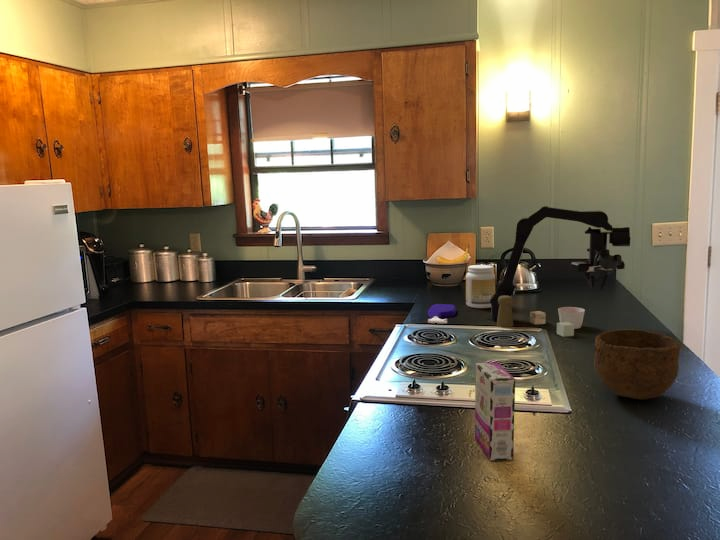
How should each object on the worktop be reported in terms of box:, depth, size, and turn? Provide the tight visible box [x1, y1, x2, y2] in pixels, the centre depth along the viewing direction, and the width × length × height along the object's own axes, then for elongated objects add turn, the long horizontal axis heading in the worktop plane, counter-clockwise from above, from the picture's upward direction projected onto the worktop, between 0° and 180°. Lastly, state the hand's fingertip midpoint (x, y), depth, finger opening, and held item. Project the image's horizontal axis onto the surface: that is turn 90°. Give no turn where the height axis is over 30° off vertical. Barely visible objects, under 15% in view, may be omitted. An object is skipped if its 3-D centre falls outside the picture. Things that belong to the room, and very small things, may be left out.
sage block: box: [556, 321, 575, 337], centre depth 203 cm, size 4×4×4 cm
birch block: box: [529, 310, 546, 326], centre depth 220 cm, size 4×4×4 cm
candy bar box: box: [474, 361, 516, 462], centre depth 118 cm, size 11×5×16 cm, turn 5°
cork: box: [496, 295, 514, 328], centre depth 217 cm, size 6×6×11 cm
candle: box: [557, 306, 586, 330], centre depth 213 cm, size 9×9×6 cm
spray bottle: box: [427, 303, 457, 325], centre depth 234 cm, size 3×11×24 cm
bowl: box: [593, 328, 682, 401], centre depth 144 cm, size 19×19×15 cm
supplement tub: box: [465, 264, 496, 309], centre depth 251 cm, size 12×12×17 cm
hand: (596, 289), depth 214 cm, fingers open, 3 cm apart
